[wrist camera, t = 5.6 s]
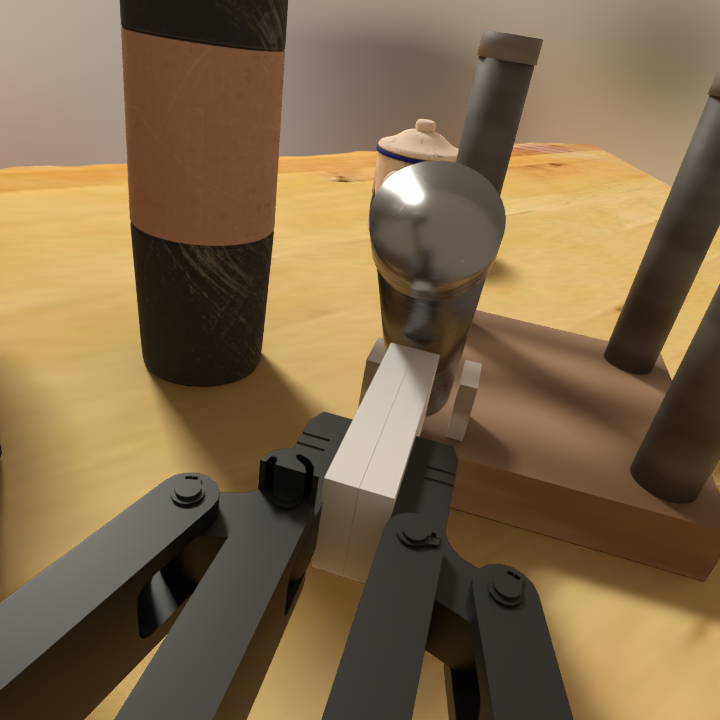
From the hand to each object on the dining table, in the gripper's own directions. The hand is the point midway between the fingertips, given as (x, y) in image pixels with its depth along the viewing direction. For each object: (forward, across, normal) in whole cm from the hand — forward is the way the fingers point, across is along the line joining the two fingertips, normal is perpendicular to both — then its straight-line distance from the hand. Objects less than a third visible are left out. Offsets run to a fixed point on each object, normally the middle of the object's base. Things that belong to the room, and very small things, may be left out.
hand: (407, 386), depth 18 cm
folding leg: (+9, 0, -5) cm, 10 cm away
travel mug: (+13, -14, -10) cm, 22 cm away
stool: (+15, +6, -10) cm, 19 cm away
